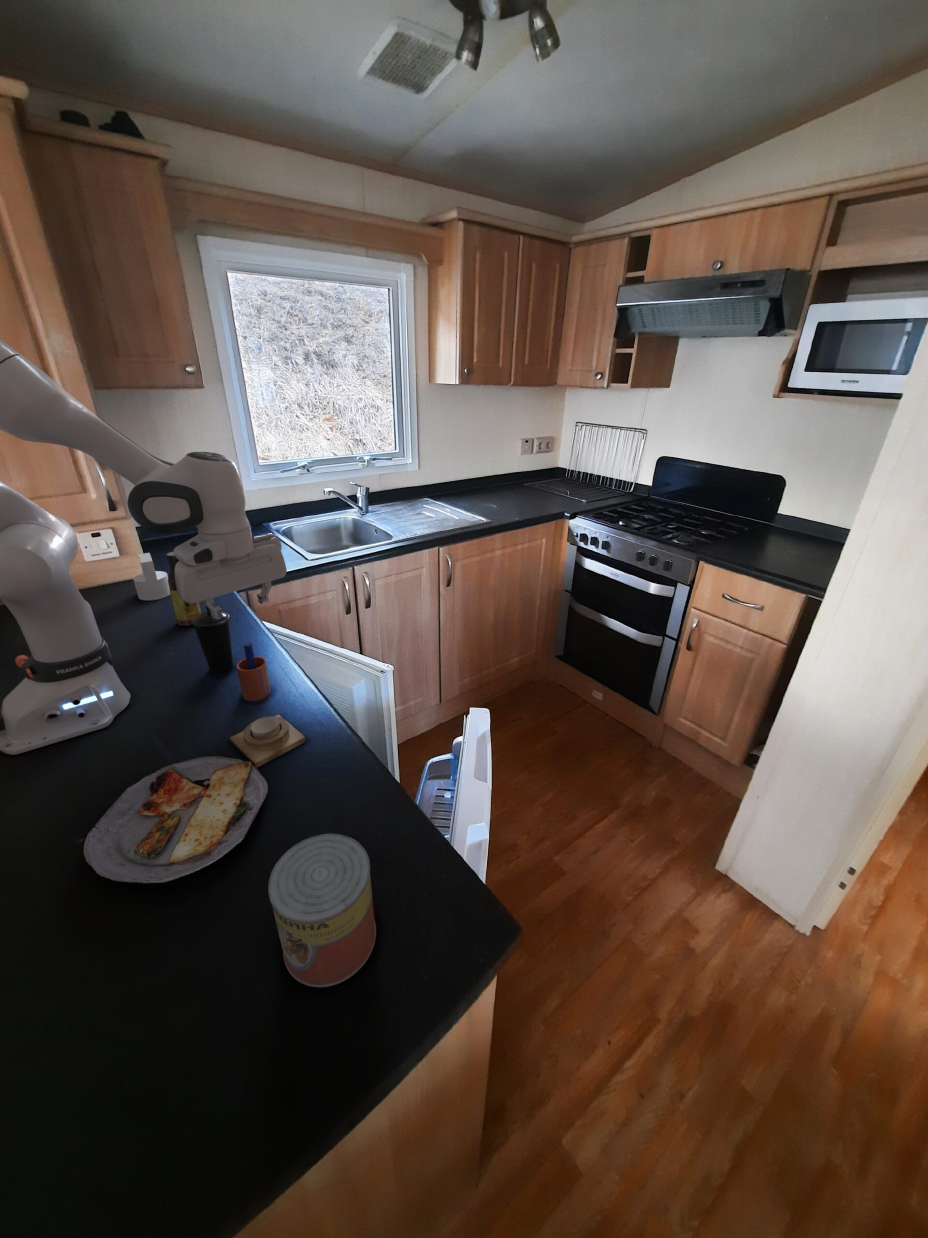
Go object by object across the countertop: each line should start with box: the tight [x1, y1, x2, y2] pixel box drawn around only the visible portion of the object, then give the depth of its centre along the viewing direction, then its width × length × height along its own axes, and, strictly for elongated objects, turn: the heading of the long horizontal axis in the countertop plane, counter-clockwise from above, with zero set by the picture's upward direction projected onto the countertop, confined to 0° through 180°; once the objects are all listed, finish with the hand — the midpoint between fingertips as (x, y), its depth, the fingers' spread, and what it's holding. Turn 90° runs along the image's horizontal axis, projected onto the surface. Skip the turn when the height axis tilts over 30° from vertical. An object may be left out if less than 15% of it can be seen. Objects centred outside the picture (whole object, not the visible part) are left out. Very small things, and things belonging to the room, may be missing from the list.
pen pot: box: [236, 656, 272, 702], centre depth 108 cm, size 6×6×8 cm
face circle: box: [251, 716, 280, 740], centre depth 95 cm, size 5×5×2 cm
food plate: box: [83, 755, 269, 884], centre depth 79 cm, size 25×23×4 cm
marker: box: [243, 642, 256, 670], centre depth 107 cm, size 2×2×12 cm
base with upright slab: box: [132, 552, 171, 601], centre depth 154 cm, size 9×9×12 cm
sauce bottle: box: [165, 551, 202, 627], centre depth 136 cm, size 7×6×20 cm
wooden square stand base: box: [229, 714, 307, 769], centre depth 95 cm, size 10×10×3 cm
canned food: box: [267, 833, 377, 988], centre depth 61 cm, size 11×11×12 cm
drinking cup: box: [191, 605, 234, 676], centre depth 114 cm, size 8×8×20 cm
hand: (241, 609), depth 101 cm, fingers open, 8 cm apart
